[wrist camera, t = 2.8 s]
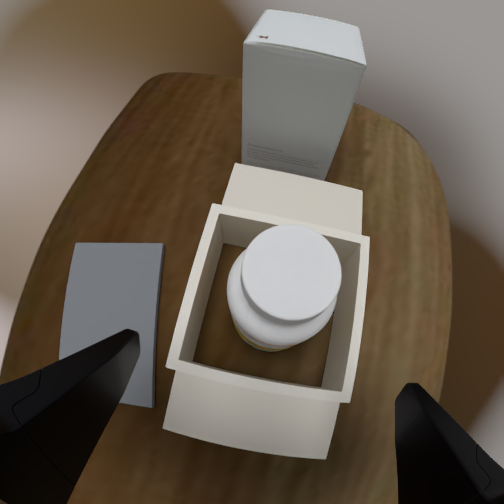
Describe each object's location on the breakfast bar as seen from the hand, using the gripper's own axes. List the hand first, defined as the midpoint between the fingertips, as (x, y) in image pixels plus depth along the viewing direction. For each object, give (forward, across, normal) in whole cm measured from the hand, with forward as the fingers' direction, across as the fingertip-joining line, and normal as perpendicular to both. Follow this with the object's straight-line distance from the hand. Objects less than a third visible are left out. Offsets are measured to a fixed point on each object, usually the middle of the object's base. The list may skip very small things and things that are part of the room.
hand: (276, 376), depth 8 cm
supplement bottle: (+11, 0, +5) cm, 12 cm away
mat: (+8, +12, +7) cm, 16 cm away
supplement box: (+22, +1, -5) cm, 22 cm away
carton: (+11, 0, +5) cm, 12 cm away
